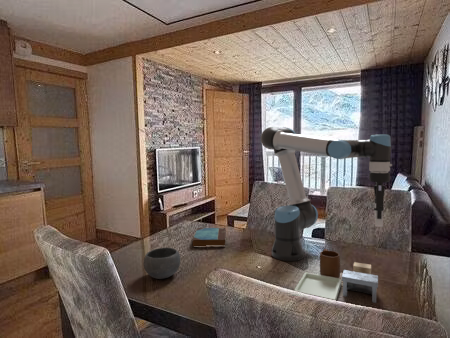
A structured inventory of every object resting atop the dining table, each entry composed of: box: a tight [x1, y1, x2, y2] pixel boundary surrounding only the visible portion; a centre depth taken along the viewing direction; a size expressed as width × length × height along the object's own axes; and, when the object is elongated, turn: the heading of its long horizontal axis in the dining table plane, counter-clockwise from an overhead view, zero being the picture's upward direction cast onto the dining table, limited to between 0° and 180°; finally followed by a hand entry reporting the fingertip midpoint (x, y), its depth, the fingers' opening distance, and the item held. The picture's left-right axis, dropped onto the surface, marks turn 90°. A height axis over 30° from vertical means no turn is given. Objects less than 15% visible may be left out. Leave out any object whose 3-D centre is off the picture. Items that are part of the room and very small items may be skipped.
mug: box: [319, 248, 341, 279], centre depth 116 cm, size 12×8×9 cm, turn 175°
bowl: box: [143, 247, 181, 280], centre depth 118 cm, size 15×15×10 cm
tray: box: [293, 271, 343, 300], centre depth 103 cm, size 14×17×2 cm
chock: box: [352, 261, 372, 275], centre depth 110 cm, size 6×4×6 cm, turn 61°
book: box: [192, 227, 227, 246], centre depth 162 cm, size 23×18×5 cm
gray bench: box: [341, 269, 379, 304], centre depth 100 cm, size 11×9×7 cm
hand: (378, 222), depth 119 cm, fingers open, 13 cm apart
